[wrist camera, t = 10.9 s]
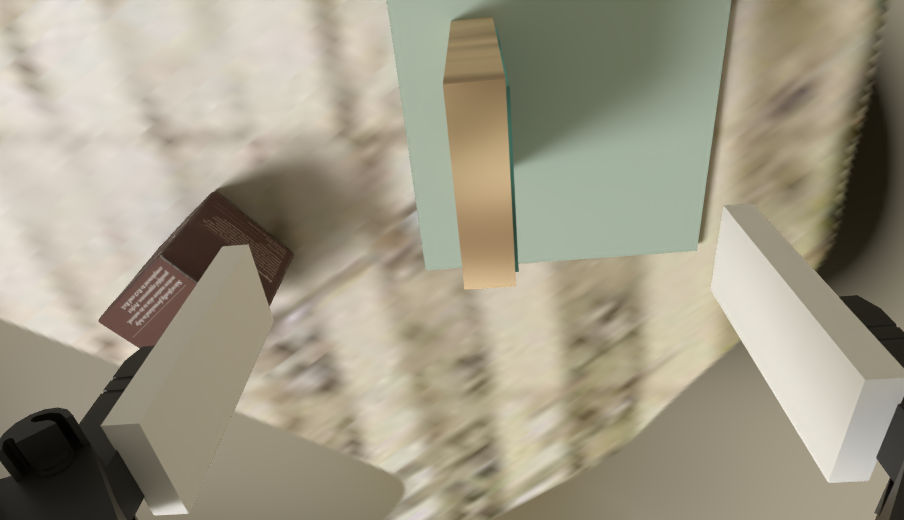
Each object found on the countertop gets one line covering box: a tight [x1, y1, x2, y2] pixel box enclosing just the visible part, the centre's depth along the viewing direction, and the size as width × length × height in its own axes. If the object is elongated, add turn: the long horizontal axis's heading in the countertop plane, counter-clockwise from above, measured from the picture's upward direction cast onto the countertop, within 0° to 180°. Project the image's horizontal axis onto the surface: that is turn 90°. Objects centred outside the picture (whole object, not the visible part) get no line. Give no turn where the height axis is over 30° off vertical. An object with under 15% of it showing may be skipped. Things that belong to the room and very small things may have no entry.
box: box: [99, 192, 293, 348], centre depth 33 cm, size 6×6×7 cm
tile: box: [443, 17, 519, 290], centre depth 26 cm, size 8×2×11 cm, turn 6°
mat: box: [387, 0, 731, 270], centre depth 30 cm, size 20×16×1 cm
